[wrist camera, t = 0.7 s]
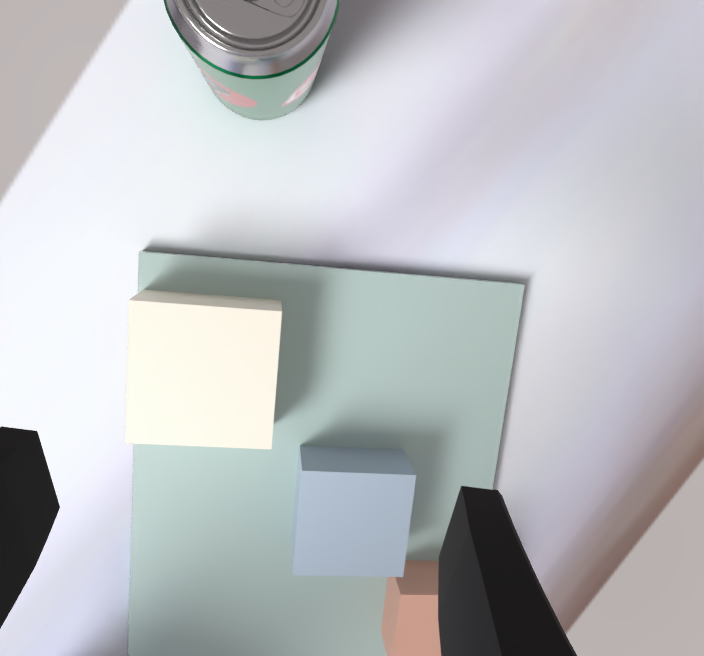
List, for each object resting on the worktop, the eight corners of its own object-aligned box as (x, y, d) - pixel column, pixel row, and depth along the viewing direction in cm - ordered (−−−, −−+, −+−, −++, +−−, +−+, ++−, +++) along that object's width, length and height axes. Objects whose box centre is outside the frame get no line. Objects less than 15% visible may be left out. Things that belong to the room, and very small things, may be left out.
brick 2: (392, 543, 33) (403, 577, 30) (291, 541, 33) (292, 575, 30) (403, 449, 32) (416, 475, 29) (299, 445, 31) (302, 470, 29)
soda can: (306, 131, 29) (328, 89, 17) (197, 110, 28) (143, 51, 16) (323, 17, 28) (359, -110, 16) (211, -8, 27) (164, -160, 15)
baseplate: (462, 650, 36) (466, 657, 36) (129, 651, 33) (127, 659, 33) (520, 283, 32) (524, 284, 31) (141, 250, 29) (138, 252, 28)
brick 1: (271, 425, 31) (271, 449, 28) (139, 419, 30) (125, 443, 27) (281, 299, 30) (282, 311, 27) (143, 289, 29) (128, 300, 26)
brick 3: (457, 631, 35) (474, 671, 32) (381, 631, 34) (390, 671, 32) (468, 561, 34) (486, 595, 31) (389, 559, 34) (400, 594, 31)
